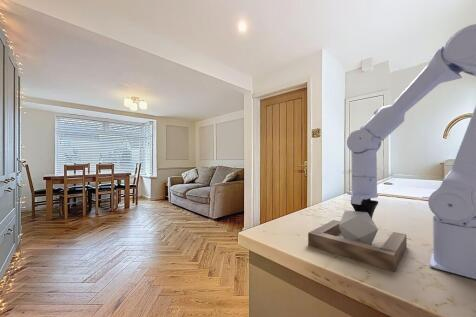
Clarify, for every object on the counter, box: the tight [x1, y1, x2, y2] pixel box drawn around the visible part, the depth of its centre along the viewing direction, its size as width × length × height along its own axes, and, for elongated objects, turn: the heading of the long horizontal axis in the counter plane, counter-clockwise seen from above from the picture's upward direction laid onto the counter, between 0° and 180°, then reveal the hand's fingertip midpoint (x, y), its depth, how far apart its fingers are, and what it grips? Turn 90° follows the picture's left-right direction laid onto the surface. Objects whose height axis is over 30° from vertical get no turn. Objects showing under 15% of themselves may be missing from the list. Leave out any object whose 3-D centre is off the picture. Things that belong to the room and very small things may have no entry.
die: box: [339, 210, 379, 245], centre depth 51 cm, size 8×9×10 cm
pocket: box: [307, 219, 408, 272], centre depth 50 cm, size 17×16×3 cm
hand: (364, 227), depth 54 cm, fingers closed
